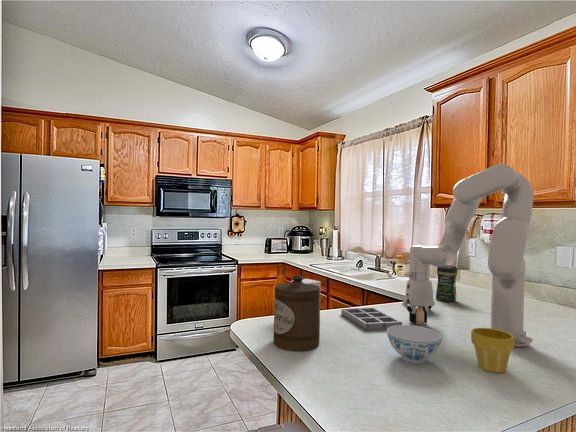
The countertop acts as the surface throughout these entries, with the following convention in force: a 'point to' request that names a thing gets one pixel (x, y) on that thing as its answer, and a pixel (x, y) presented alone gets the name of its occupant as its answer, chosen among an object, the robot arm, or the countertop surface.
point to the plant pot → (492, 348)
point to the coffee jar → (446, 283)
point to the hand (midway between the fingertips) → (418, 322)
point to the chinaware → (414, 342)
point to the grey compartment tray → (370, 318)
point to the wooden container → (297, 315)
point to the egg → (419, 316)
